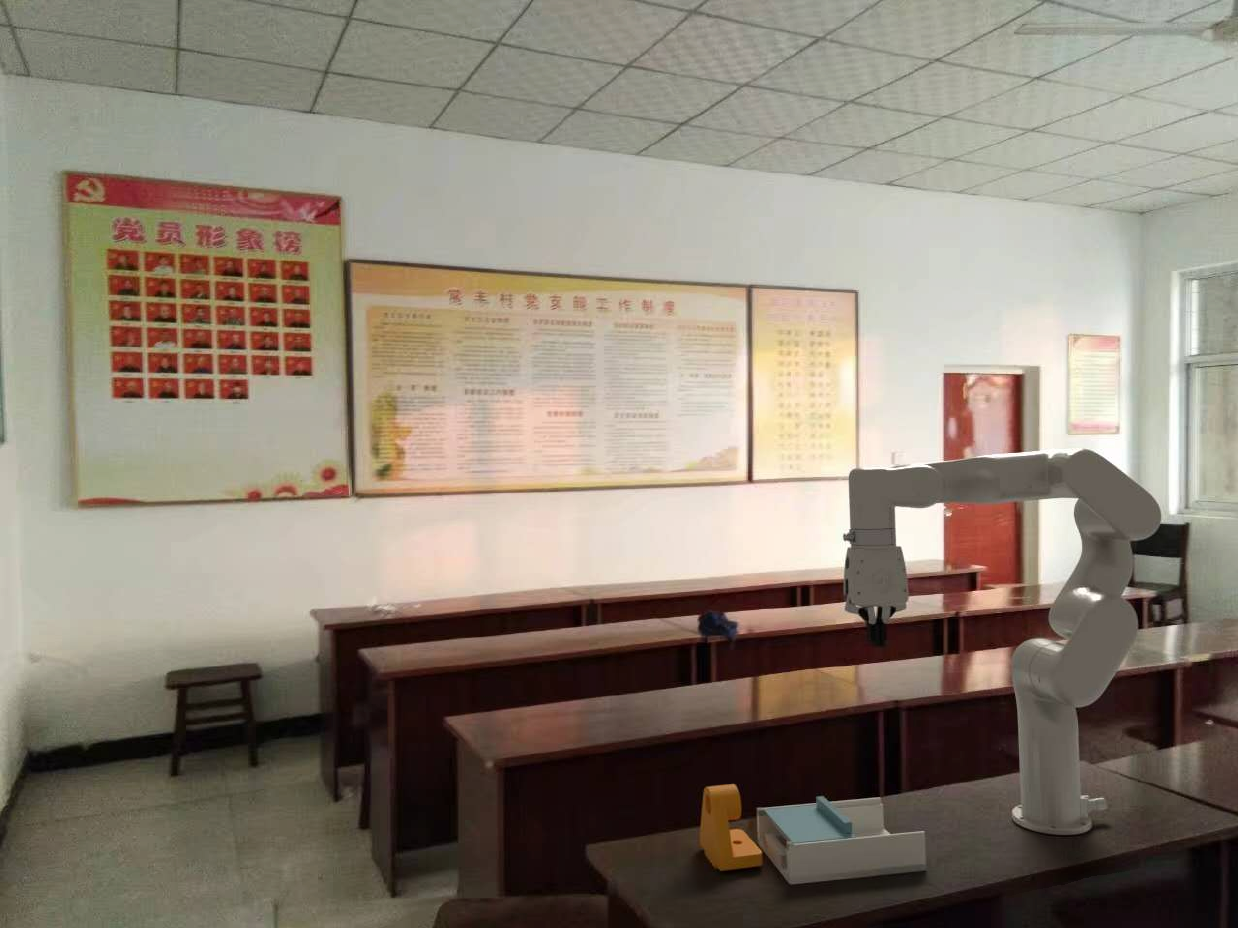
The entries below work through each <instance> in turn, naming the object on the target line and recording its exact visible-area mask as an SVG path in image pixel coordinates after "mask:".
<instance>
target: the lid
mask: <svg viewBox="0 0 1238 928" xmlns="http://www.w3.org/2000/svg"><path fill="white" fill-rule="evenodd" d="M815 799H816V800H815V801H816V802H815V803H816V804H817V805H810V806H799V807H788V808H777V809H766V810H764V815H765V816H766V817H767V818H768V819H769V821H770V822H771V823H772V824H773V825H774V826H775V827H776V829H777V830H778V831H779V832H780V833H781V834H782V835H783V837H784V838H785V839H786V840H787V841H791V842H792V843H793V844H797V843H807V842H817V841H827V840H838V839H848V838H856V837H855V836H854V835H853V834H852V822H851V821H850V820H849V819H848V818H847V817H846V816H845V815H843V814H842V813H841V812H840V811H839V810H838V809H837V808H836V807H835V806H833V805H832V804H831V803H830V802H831V801H829V800H828V799H827V798H825V796H824V795H820V796H816V797H815Z"/></svg>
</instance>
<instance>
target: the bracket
mask: <svg viewBox="0 0 1238 928" xmlns="http://www.w3.org/2000/svg"><path fill="white" fill-rule="evenodd" d="M741 801H742V800H741V794H740V791H739V788H738V787H737V784H735V783H731V784H719V785H711V786H706V787H704V790H703V794H702V808H701V815H700V816H701V818H700V819H701V820H700V828H699V829H700V830H699V842H700V847H702V849H703V850H704V856H705V855H706V856H707V857H708V858H707V857H706V856H705V857H706V858H707V860H708V859H709V860H710V861H709V860H708V861H709V862H710V864H711V863H712V864H711V865H712V866H713V868H714V867H715V868H714V869H715V870H719V871H720V872H722V871H731V870H739V869H747V868H754V867H755V868H756V867H761V866H762V865H763V864H764V863H763V850H762V849H761V847H760V846H759V845H758V844H756V843H755V841H753V840H752V838H751V837H749V835H748V834H747V833H746V832H745V831H744V830H743V829H739V828H736V829H735V828H734V829H730V822H729V821H731V820H732V821H733V820H739V819H740V818H741V816H742V802H741Z"/></svg>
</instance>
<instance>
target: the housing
mask: <svg viewBox="0 0 1238 928" xmlns="http://www.w3.org/2000/svg"><path fill="white" fill-rule="evenodd" d="M829 802H830V803H831V804H832V805H833V806H835V807H836V808H837V809H838V810H839V811H840V812H841V813H842V814H843V815H845V816H846V817H847V818H848V819H849V820H850V821H851V822H852V834H853V835H854V836H855V837H856V838H848V839H838V840H827V841H817V842H807V843H797V844H793V843H792V842H791V841H787V840H786V839H785V838H784V837H783V835H782V834H781V833H780V832H779V831H778V830H777V829H776V827H775V826H774V825H773V824H772V823H771V822H770V821H769V819H768V818H767V817H766V816H765V815H764V810H766V809H777V808H788V807H799V806H810V805H817V804H816V802H815V803H814V802H813V803H803V804H791V805H782V806H781V805H780V806H771V807H756V827H757V846H758V847H759V848H760V849H761V851H762V852H764V854H766V856H767V857H768V859H769V860H770V861H771V862H772V864H773V865H774V866H775V868H776V869H777V870H778V871H779V873H780V874H781V875H782V876H783V877H784V879H785V880H786V882H787V883H788V885H799V884H805V883H806V884H808V883H816V882H817V883H818V882H827V881H834V880H835V881H836V880H838V881H839V880H847V879H857V878H866V877H875V876H884V875H894V874H904V873H912V872H922V871H923V872H924V871H927V862H926V861H927V859H926V858H927V857H926V856H927V854H926V853H927V852H926V832H925V831H924V830H920V831H911V832H910V831H909V832H901V833H892V834H891V833H890V832H889V831H888V830H886V829H885V818H884V817H885V816H884V804H883V803H882V798H881V797H880V796H879V797H868V798H860V799H859V798H858V799H847V800H846V799H845V800H837V801H829Z"/></svg>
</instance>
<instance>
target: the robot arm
mask: <svg viewBox="0 0 1238 928" xmlns="http://www.w3.org/2000/svg"><path fill="white" fill-rule="evenodd" d="M1065 498H1066V499H1077V500H1076V502H1075V504H1074V507H1073V517H1074V523H1075V525H1076V527H1077V530H1078V533H1079V537H1080V540H1081V554H1080V557H1079V560H1078V562H1077V564H1076V565H1075V568H1074V569H1073V571H1072V572H1071V575H1069V577H1068V579H1067V580H1066V582H1065V583H1064V585H1063V587H1062V588H1061V589H1060V591H1059V593H1058V595H1057V596H1056V598H1055V600H1053V603H1052V604H1051V607H1050V609H1049V612H1048V622H1049V626H1050V628H1051V630H1053V631H1054V633H1056V634H1057V635H1058V636H1060V637H1061V638H1063V639H1066V640H1067V641H1066V642H1065V644H1064V643H1061V642H1057V641H1055V640H1051V639H1047V638H1041V637H1040V638H1031V639H1028V640H1025V641H1023V642H1022V643H1021V644H1019V645H1018V646H1017V647H1016V648H1015V650H1014V651H1013V654H1012V656H1011V661H1010V674H1011V680H1012V684H1013V686H1012V687H1013V691H1014V695H1015V699H1016V700H1015V701H1016V709H1017V710H1016V711H1017V727H1018V728H1017V729H1018V730H1017V731H1018V733H1017V734H1018V754H1019V755H1018V757H1019V758H1018V759H1019V780H1020V781H1019V784H1020V804H1019V805H1016V806H1015V807H1014V808H1012V810H1011V818H1012V820H1013V821H1014V823H1015V824H1018V826H1021V827H1023V828H1025V829H1027V830H1030V831H1033V832H1037V833H1041V834H1048V835H1057V836H1072V835H1080V834H1084V833H1087V832H1088V831H1090V830H1091V829H1092V828H1093V825H1092V824H1093V823H1092V819H1091V817H1090V816H1089V815H1088V813H1092V812H1091V811H1093V810H1094V811H1101V810H1106V809H1107V808H1108V802H1107V800H1106V799H1105V797H1096V798H1091V797H1090V796H1089V795H1088V794H1086V795H1082V794H1081V792H1082V791H1081V776H1080V775H1081V774H1080V773H1081V771H1080V770H1081V767H1080V747H1079V723H1078V722H1079V721H1078V715H1077V710H1076V708H1083V707H1087V706H1090V705H1092V704H1094V702H1096V701H1097V700H1098V699H1099V698H1100V697H1101V696H1102V695H1103V693H1104V692H1105V691H1106V689H1107V687H1109V684H1110V683H1111V681H1112V680H1113V678H1114V677H1115V675H1116V673H1117V672H1118V670H1119V668H1120V667H1121V665H1122V663H1123V662H1124V660H1126V659H1125V658H1126V657H1127V656H1128V654H1129V652H1130V651H1131V649H1132V648H1133V645H1134V643H1135V641H1136V638H1137V637H1138V636H1137V635H1138V629H1139V619H1138V615H1137V612H1136V610H1135V609H1134V607H1133V605H1132V604H1131V603H1130V602H1129V601H1127V600H1126V599H1125V598H1123V597H1122V596H1123V594H1124V592H1125V590H1126V588H1127V586H1128V585H1129V583H1130V580H1131V578H1132V576H1133V572H1134V557H1133V556H1134V555H1133V550H1132V546H1131V543H1130V541H1134V542H1135V541H1136V542H1137V541H1142V540H1146V539H1148V538H1150V537H1152V535H1154V534H1155V533H1156V532H1157V531H1158V529H1159V528H1160V525H1161V522H1162V511H1161V507H1160V505H1159V503H1158V502H1157V500H1156V499H1155V497H1153V495H1152V494H1151V493H1150V492H1148V490H1146V489H1145V488H1144V487H1142V486H1141V485H1140V484H1138V483H1137V482H1136V481H1135V480H1133V478H1131V477H1130V476H1129V475H1127V474H1126V473H1125V472H1123V471H1122V470H1121V469H1120V468H1119V467H1117V466H1116V465H1114V464H1113V463H1112V462H1111V461H1109V460H1108V459H1107V458H1105V457H1104V456H1102V455H1101V454H1099V453H1097V452H1095V451H1093V450H1091V449H1087V448H1066V449H1049V450H1048V449H1047V450H1036V451H1025V452H1023V451H1022V452H1015V453H1014V452H1011V453H999V454H989V455H979V456H974V457H968V458H962V459H961V458H960V459H954V460H945V461H934V462H933V461H932V462H923V463H910V464H909V463H908V464H897V465H894V466H892V467H890V468H889V467H887V466H886V467H885V466H869V467H868V466H866V467H857V468H856V467H855V468H853V469H851V470H850V471H849V474H848V499H849V504H848V505H849V529H848V532H847V533H843V535H842V538H843V539H842V540H843V541H844V542H848V543H849V545H850V546H848V547H847V550H846V553H845V561H844V568H843V569H844V570H843V573H844V574H843V596H844V597H843V598H844V601H845V605H844V611H845V612H846V613H850V614H853V615H854V614H855V615H858V616H859V617H860V618H861V619H862V620H863V622H865V629H866V641H867V642H868V645H869V646H870V647H873V648H875V649H876V648H885V647H886V641H888V631H887V627H888V626H887V624H889V622H890V619H891V618H892V616H894V614H895V613H899V612H902V611H904V610H906V609H907V602H909V597H910V595H909V593H910V592H909V582H908V581H909V579H908V574H907V567H906V562H905V556H904V552H903V549H902V546H901V545H900V546H899V545H897V531H896V530H897V529H896V507H898V508H910V509H925V508H930V507H933V506H935V505H936V504H948V503H949V504H950V503H953V504H954V503H955V504H956V503H959V504H961V503H963V504H977V505H989V504H990V505H991V504H1004V503H1005V504H1006V503H1015V502H1017V503H1018V502H1027V501H1028V502H1029V501H1039V500H1049V499H1065ZM875 607H876V612H875Z"/></svg>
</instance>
